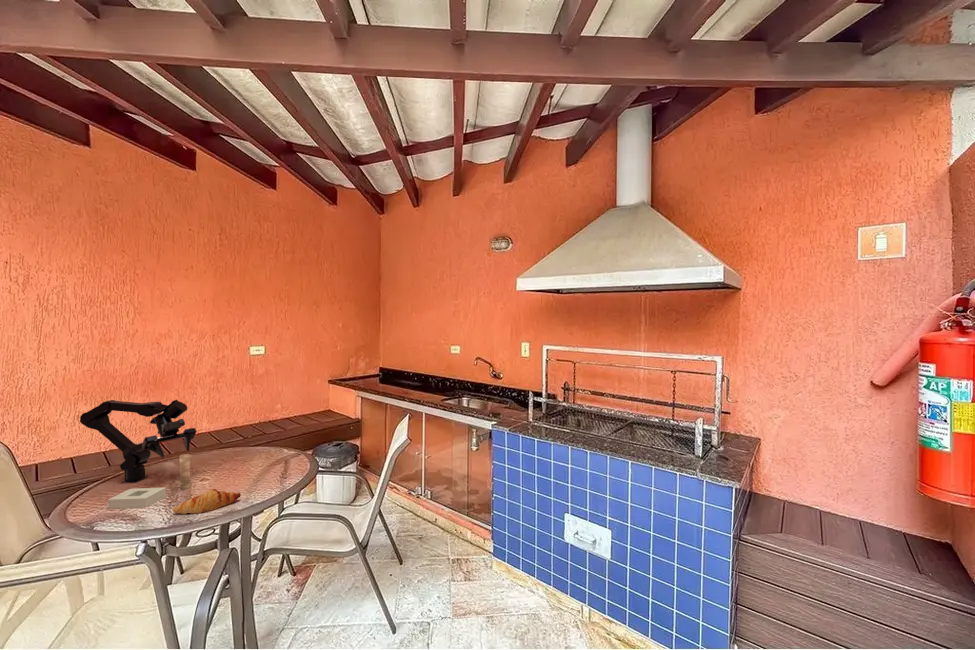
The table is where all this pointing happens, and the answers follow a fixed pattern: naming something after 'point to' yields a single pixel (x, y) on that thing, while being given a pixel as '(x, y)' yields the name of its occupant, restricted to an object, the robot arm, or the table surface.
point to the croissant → (207, 502)
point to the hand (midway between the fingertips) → (176, 453)
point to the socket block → (137, 498)
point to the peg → (185, 471)
